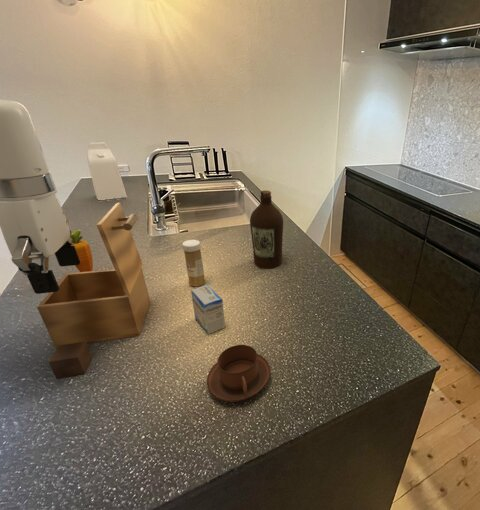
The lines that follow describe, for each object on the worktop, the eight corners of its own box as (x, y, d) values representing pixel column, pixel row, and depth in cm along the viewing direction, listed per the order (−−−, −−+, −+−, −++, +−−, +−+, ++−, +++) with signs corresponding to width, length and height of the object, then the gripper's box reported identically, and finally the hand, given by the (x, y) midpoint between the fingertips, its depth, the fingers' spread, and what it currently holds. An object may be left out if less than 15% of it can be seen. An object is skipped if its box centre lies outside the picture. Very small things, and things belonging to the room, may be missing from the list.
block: (56, 379, 59) (48, 361, 57) (66, 361, 62) (58, 345, 60) (84, 374, 60) (77, 357, 58) (92, 357, 64) (86, 341, 62)
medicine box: (194, 318, 77) (189, 290, 73) (212, 311, 80) (208, 283, 76) (208, 335, 72) (203, 305, 68) (226, 327, 75) (222, 298, 71)
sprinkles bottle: (185, 284, 90) (178, 243, 84) (197, 277, 94) (191, 237, 88) (197, 288, 89) (190, 247, 83) (209, 281, 93) (203, 241, 87)
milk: (123, 192, 162) (111, 141, 151) (127, 198, 155) (114, 144, 143) (95, 195, 155) (80, 141, 143) (98, 201, 147) (81, 144, 136)
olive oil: (258, 253, 111) (255, 186, 100) (286, 257, 111) (286, 189, 99) (247, 267, 102) (242, 194, 91) (278, 271, 101) (277, 198, 90)
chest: (55, 348, 65) (36, 307, 61) (79, 310, 77) (65, 273, 72) (139, 335, 70) (128, 296, 66) (150, 301, 82) (141, 266, 77)
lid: (96, 224, 58) (122, 221, 59) (116, 203, 69) (138, 200, 70) (125, 295, 65) (148, 291, 67) (139, 265, 77) (158, 262, 78)
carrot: (73, 279, 88) (55, 231, 81) (89, 271, 93) (74, 225, 86) (87, 282, 87) (70, 234, 81) (103, 274, 92) (88, 228, 85)
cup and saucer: (282, 381, 62) (282, 358, 59) (228, 419, 54) (225, 396, 51) (248, 350, 69) (247, 328, 66) (196, 380, 61) (192, 357, 58)
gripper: (21, 173, 54) (55, 258, 62) (-48, 202, 40) (7, 308, 48) (72, 173, 57) (99, 254, 65) (25, 200, 43) (66, 301, 50)
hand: (60, 277), depth 56 cm, fingers open, 9 cm apart
